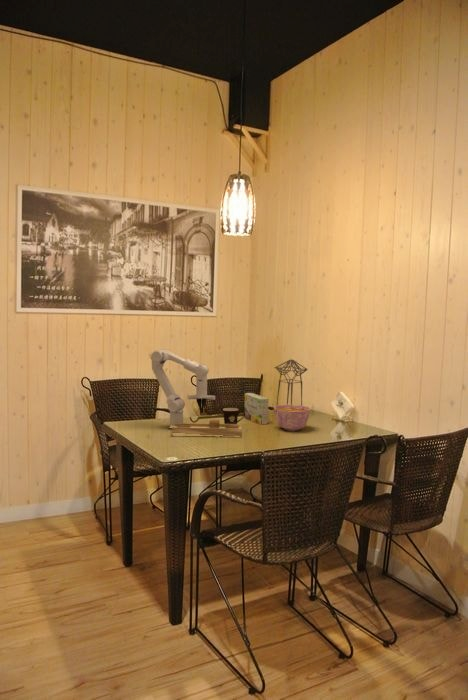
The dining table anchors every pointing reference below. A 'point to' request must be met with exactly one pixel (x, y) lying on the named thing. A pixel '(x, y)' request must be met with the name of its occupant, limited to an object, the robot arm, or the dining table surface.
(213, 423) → the walnut block
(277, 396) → the geometric lantern
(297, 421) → the bowl of food
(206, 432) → the trap trough
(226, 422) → the coffee mug
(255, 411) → the snack box
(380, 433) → the dining table surface
